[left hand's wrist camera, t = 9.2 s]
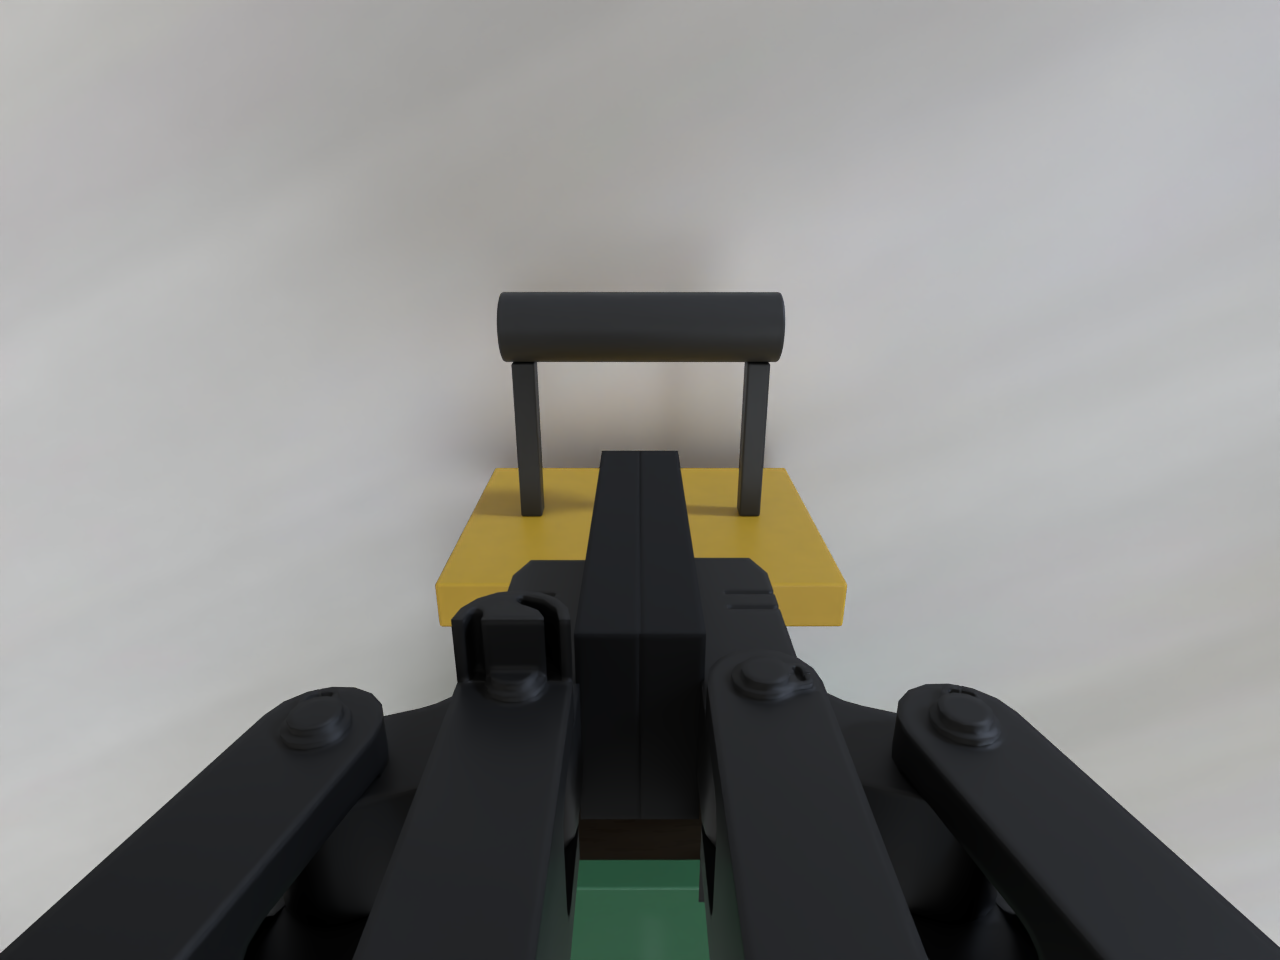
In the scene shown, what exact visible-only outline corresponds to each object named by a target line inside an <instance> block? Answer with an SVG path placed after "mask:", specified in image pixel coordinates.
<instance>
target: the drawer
mask: <svg viewBox="0 0 1280 960" xmlns="http://www.w3.org/2000/svg"><path fill="white" fill-rule="evenodd" d="M497 334H498V344H499V349H500V353H501V356H502V359H503V360H504V361H505V362H513V363H512V379H513V395H514V410H515V425H516V441H517V456H518V468H496V469H495V470H494V472H493V474H492V476H491V478H490V480H489V482H488V484H487V486H486V488H485V490H484V492H483V494H482V496H481V497H480V499H479V501H478V503H477V505H476V507H475V509H474V511H473V513H472V515H471V517H470V519H469V521H468V523H467V525H466V526H465V528H464V530H463V532H462V534H461V536H460V538H459V540H458V542H457V544H456V546H455V548H454V550H453V552H452V554H451V555H450V557H449V559H448V561H447V563H446V565H445V567H444V569H443V571H442V573H441V575H440V577H439V579H438V581H437V583H436V585H435V588H436V596H437V605H438V613H439V622H440V625H441V626H452V625H451V619H452V618H453V617H454V615H455V614H456V613H457V612H458V611H459V609H460V608H462V607H463V606H465V605H467V604H468V603H470V602H472V601H474V600H475V599H477V598H480V597H484V596H487V595H490V594H494V593H497V592H506V591H508V588H509V585H510V582H511V579H512V576H513V575H514V574H515V573H516V572H517V571H519V570H520V569H521V568H522V567H523V566H524V565H526V564H527V563H528V562H529V561H530V560H585V559H586V552H587V546H588V539H589V533H590V526H591V520H592V513H593V507H594V501H595V494H596V488H597V481H598V475H599V468H542V451H541V431H540V412H539V393H538V374H537V362H745V368H744V386H743V404H742V422H741V440H740V459H739V468H681V475H682V481H683V488H684V494H685V501H686V507H687V513H688V520H689V526H690V533H691V539H692V546H693V552H694V558H750V559H751V560H752V561H754V562H755V563H756V564H757V565H758V566H760V567H761V568H762V569H763V570H764V571H766V572H767V573H768V576H769V579H770V582H771V585H772V588H773V593H774V594H775V596H776V599H777V602H778V605H779V609H780V611H781V614H782V617H783V619H784V622H785V625H786V626H841V625H842V623H843V615H844V607H845V599H846V590H847V584H846V582H845V580H844V578H843V576H842V574H841V572H840V570H839V569H838V567H837V565H836V563H835V561H834V559H833V557H832V556H831V554H830V552H829V550H828V548H827V546H826V544H825V542H824V541H823V539H822V537H821V535H820V533H819V531H818V529H817V528H816V526H815V524H814V522H813V520H812V518H811V516H810V514H809V513H808V511H807V509H806V507H805V505H804V503H803V501H802V500H801V498H800V496H799V494H798V492H797V490H796V488H795V486H794V485H793V483H792V481H791V479H790V477H789V475H788V473H787V472H786V470H785V469H784V468H763V462H764V448H765V433H766V418H767V404H768V389H769V374H770V364H769V363H768V362H777V361H778V360H779V359H780V356H781V353H782V349H783V343H784V335H785V308H784V301H783V297H782V295H781V293H779V292H503V293H501V294H500V297H499V301H498V307H497ZM578 825H579V850H580V858H579V860H700V850H701V825H702V819H701V809H700V811H699V819H581V811H580V813H579V823H578Z"/></svg>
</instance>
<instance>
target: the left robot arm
mask: <svg viewBox="0 0 1280 960" xmlns="http://www.w3.org/2000/svg"><path fill="white" fill-rule="evenodd" d="M451 625H452V634H453V644H454V653H455V663H456V672H457V682H458V683H457V685H456V688H455V690H454V693H453V696H452V697H450V698H448V699H446V700H443V701H441V702H439V703H437V704H433V705H430V706H427V707H423V708H420V709H415V710H411V711H406V712H401V713H397V714H392V715H387V716H383V709H382V704H381V703H380V702H379V701H378V700H377V699H376V697H375V696H374V695H373V694H372V693H369V692H366V691H363V690H360V689H357V688H354V687H329V688H324V689H318V690H314V691H309V692H306V693H304V694H301V695H299V696H296V697H294V698H292V699H289V700H287V701H284V702H283V703H281V704H280V705H278V706H277V707H275V708H274V709H273V710H271V711H270V712H268V713H267V714H265V715H264V716H263V717H262V718H261V719H259V720H258V721H257V722H256V723H255V724H254V725H253V726H252V727H251V728H249V729H248V730H247V731H246V732H245V733H244V734H243V735H242V736H241V737H239V738H238V739H237V740H236V741H235V742H234V743H233V744H232V745H231V746H229V747H228V748H227V749H226V750H225V751H224V752H223V753H222V754H221V755H220V756H218V757H217V758H216V759H215V760H214V761H213V762H212V763H211V764H210V765H208V766H207V767H206V768H205V769H204V770H203V771H202V772H201V773H200V774H198V775H197V776H196V777H195V778H194V779H193V780H192V781H191V782H190V783H188V784H187V785H186V786H185V787H184V788H183V789H182V790H181V791H180V792H179V793H177V794H176V795H175V796H174V797H173V798H172V799H171V800H170V801H169V802H167V803H166V804H165V805H164V806H163V807H162V808H161V809H160V810H159V811H157V812H156V813H155V814H154V815H153V816H152V817H151V818H150V819H149V820H147V821H146V822H145V823H144V824H143V825H142V826H141V827H140V828H139V829H138V830H136V831H135V832H134V833H133V834H132V835H131V836H130V837H129V838H128V839H126V840H125V841H124V842H123V843H122V844H121V845H120V846H119V847H118V848H116V849H115V850H114V851H113V852H112V853H111V854H110V855H109V856H108V857H106V858H105V859H104V860H103V861H102V862H101V863H100V864H99V865H98V866H97V867H95V868H94V869H93V870H92V871H91V872H90V873H89V874H88V875H87V876H85V877H84V878H83V879H82V880H81V881H80V882H79V883H78V884H77V885H75V886H74V887H73V888H72V889H71V890H70V891H69V892H68V893H67V894H66V895H64V896H63V897H62V898H61V899H60V900H59V901H58V902H57V903H56V904H54V905H53V906H52V907H51V908H50V909H49V910H48V911H47V912H46V913H44V914H43V915H42V916H41V917H40V918H39V919H38V920H37V921H36V922H34V923H33V924H32V925H31V926H30V927H29V928H28V929H27V930H26V931H25V932H23V933H22V934H21V935H20V936H19V937H18V938H17V939H16V940H15V941H13V942H12V943H11V944H10V945H9V946H8V947H7V948H6V949H5V950H3V951H2V952H1V953H0V960H570V958H571V947H572V936H573V925H574V914H575V903H576V891H577V880H578V869H579V858H580V850H579V825H578V823H579V813H580V811H581V819H699V811H700V809H701V819H702V825H701V850H700V876H699V902H705V913H706V924H707V935H708V946H709V957H710V960H1280V947H1279V946H1278V945H1276V944H1275V943H1274V942H1273V941H1272V940H1271V939H1270V938H1269V937H1268V936H1266V935H1265V934H1264V933H1263V932H1262V931H1261V930H1260V929H1259V928H1257V927H1256V926H1255V925H1254V924H1253V923H1252V922H1251V921H1250V920H1249V919H1247V918H1246V917H1245V916H1244V915H1243V914H1242V913H1241V912H1240V911H1238V910H1237V909H1236V908H1235V907H1234V906H1233V905H1232V904H1231V903H1230V902H1228V901H1227V900H1226V899H1225V898H1224V897H1223V896H1222V895H1221V894H1219V893H1218V892H1217V891H1216V890H1215V889H1214V888H1213V887H1212V886H1211V885H1209V884H1208V883H1207V882H1206V881H1205V880H1204V879H1203V878H1202V877H1201V876H1199V875H1198V874H1197V873H1196V872H1195V871H1194V870H1193V869H1192V868H1190V867H1189V866H1188V865H1187V864H1186V863H1185V862H1184V861H1183V860H1182V859H1180V858H1179V857H1178V856H1177V855H1176V854H1175V853H1174V852H1173V851H1171V850H1170V849H1169V848H1168V847H1167V846H1166V845H1165V844H1164V843H1163V842H1161V841H1160V840H1159V839H1158V838H1157V837H1156V836H1155V835H1154V834H1152V833H1151V832H1150V831H1149V830H1148V829H1147V828H1146V827H1145V826H1144V825H1142V824H1141V823H1140V822H1139V821H1138V820H1137V819H1136V818H1135V817H1133V816H1132V815H1131V814H1130V813H1129V812H1128V811H1127V810H1126V809H1125V808H1123V807H1122V806H1121V805H1120V804H1119V803H1118V802H1117V801H1116V800H1115V799H1113V798H1112V797H1111V796H1110V795H1109V794H1108V793H1107V792H1106V791H1104V790H1103V789H1102V788H1101V787H1100V786H1099V785H1098V784H1097V783H1096V782H1094V781H1093V780H1092V779H1091V778H1090V777H1089V776H1088V775H1087V774H1085V773H1084V772H1083V771H1082V770H1081V769H1080V768H1079V767H1078V766H1077V765H1075V764H1074V763H1073V762H1072V761H1071V760H1070V759H1069V758H1068V757H1066V756H1065V755H1064V754H1063V753H1062V752H1061V751H1060V750H1059V749H1058V748H1056V747H1055V746H1054V745H1053V744H1052V743H1051V742H1050V741H1049V740H1047V739H1046V738H1045V737H1044V736H1043V735H1042V734H1041V733H1040V732H1039V731H1037V730H1036V729H1035V728H1034V727H1033V726H1032V725H1031V724H1030V723H1029V722H1027V721H1026V720H1025V719H1024V718H1023V717H1022V716H1021V715H1020V714H1018V713H1017V712H1016V711H1015V710H1013V709H1012V708H1010V707H1009V706H1007V705H1006V704H1004V703H1003V702H1001V701H1000V700H998V699H997V698H995V697H992V696H990V695H987V694H985V693H982V692H980V691H978V690H975V689H973V688H968V687H964V686H959V685H952V684H925V685H922V686H919V687H917V688H914V689H911V690H908V691H907V693H906V694H905V695H904V696H903V697H902V698H901V699H900V700H899V702H898V709H897V713H893V712H889V711H884V710H879V709H875V708H870V707H865V706H861V705H857V704H854V703H850V702H847V701H844V700H841V699H839V698H837V697H835V696H832V695H830V694H828V693H827V692H826V689H825V687H824V684H823V682H822V680H821V679H820V677H819V676H818V674H817V673H816V672H815V670H814V669H813V668H812V667H810V666H809V665H807V664H806V663H805V662H803V661H802V660H800V659H799V658H797V657H796V654H795V651H794V648H793V645H792V642H791V639H790V637H789V634H788V631H787V628H786V625H785V622H784V619H783V617H782V614H781V611H780V609H779V605H778V602H777V599H776V596H775V594H774V593H773V588H772V585H771V582H770V579H769V576H768V573H767V572H766V571H764V570H763V569H762V568H761V567H760V566H758V565H757V564H756V563H755V562H754V561H752V560H751V559H750V558H694V552H693V546H692V539H691V533H690V526H689V520H688V513H687V507H686V501H685V494H684V488H683V481H682V475H681V468H680V462H679V455H678V451H602V455H601V462H600V468H599V475H598V481H597V488H596V494H595V501H594V507H593V513H592V520H591V526H590V533H589V539H588V546H587V552H586V559H585V560H530V561H529V562H528V563H527V564H526V565H524V566H523V567H522V568H521V569H520V570H519V571H517V572H516V573H515V574H514V575H513V576H512V579H511V582H510V585H509V588H508V591H506V592H497V593H494V594H490V595H487V596H484V597H480V598H477V599H475V600H474V601H472V602H470V603H468V604H467V605H465V606H463V607H462V608H460V609H459V611H458V612H457V613H456V614H455V615H454V617H453V618H452V619H451Z"/></svg>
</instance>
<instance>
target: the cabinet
mask: <svg viewBox="0 0 1280 960" xmlns="http://www.w3.org/2000/svg"><path fill="white" fill-rule="evenodd" d="M699 876H700V860H579V869H578V880H577V891H576V903H575V914H574V925H573V936H572V947H571V958H570V960H710V957H709V946H708V935H707V924H706V913H705V902H699Z"/></svg>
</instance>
